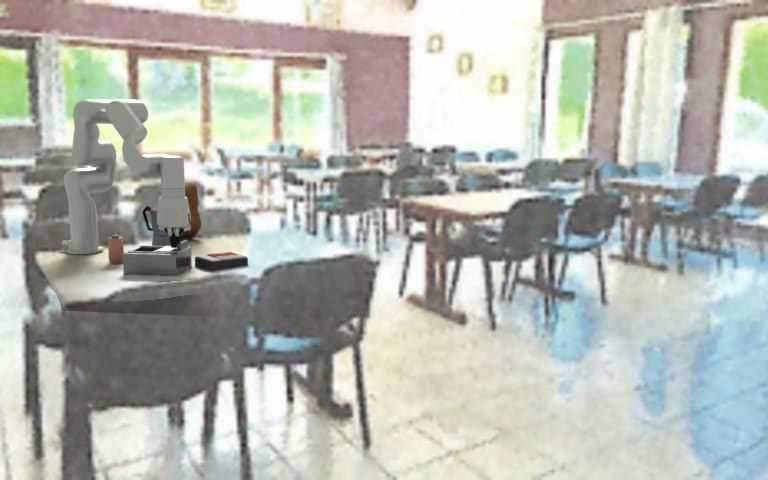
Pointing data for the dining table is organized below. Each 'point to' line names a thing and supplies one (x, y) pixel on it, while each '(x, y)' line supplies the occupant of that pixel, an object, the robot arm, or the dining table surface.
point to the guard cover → (180, 248)
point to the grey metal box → (155, 261)
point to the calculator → (220, 261)
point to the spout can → (115, 249)
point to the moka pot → (156, 228)
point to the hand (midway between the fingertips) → (175, 247)
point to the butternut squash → (192, 211)
